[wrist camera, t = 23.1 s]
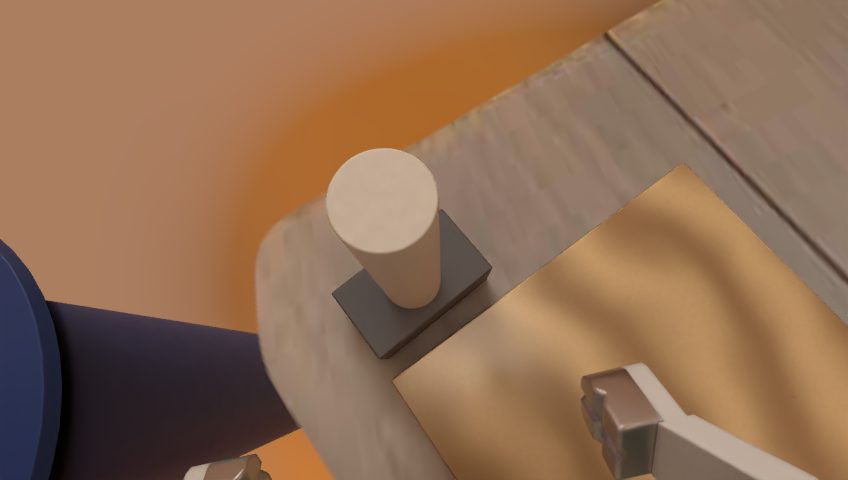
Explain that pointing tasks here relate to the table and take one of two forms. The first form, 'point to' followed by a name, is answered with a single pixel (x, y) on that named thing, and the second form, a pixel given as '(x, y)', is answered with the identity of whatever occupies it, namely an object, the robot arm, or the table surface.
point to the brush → (398, 248)
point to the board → (641, 347)
